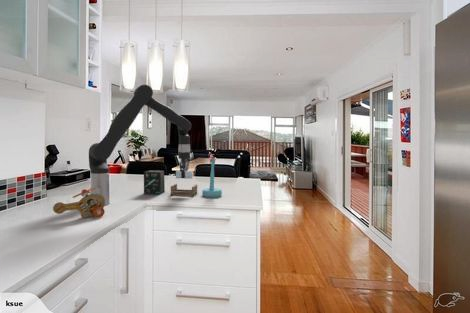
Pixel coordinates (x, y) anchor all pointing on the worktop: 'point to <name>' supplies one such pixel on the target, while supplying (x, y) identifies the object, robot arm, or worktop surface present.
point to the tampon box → (154, 182)
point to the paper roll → (187, 174)
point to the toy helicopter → (84, 205)
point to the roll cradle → (183, 191)
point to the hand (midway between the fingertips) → (184, 177)
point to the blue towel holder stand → (212, 185)
